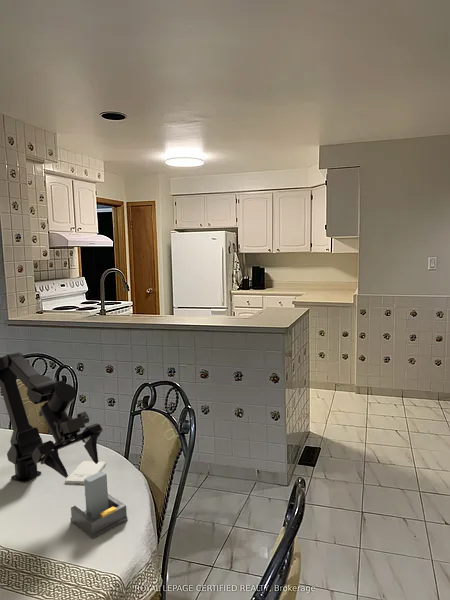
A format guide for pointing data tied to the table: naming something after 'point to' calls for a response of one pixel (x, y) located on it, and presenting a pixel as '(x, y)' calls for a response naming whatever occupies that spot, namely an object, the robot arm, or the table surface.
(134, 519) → the table surface
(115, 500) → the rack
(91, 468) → the external hard drive
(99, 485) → the block
